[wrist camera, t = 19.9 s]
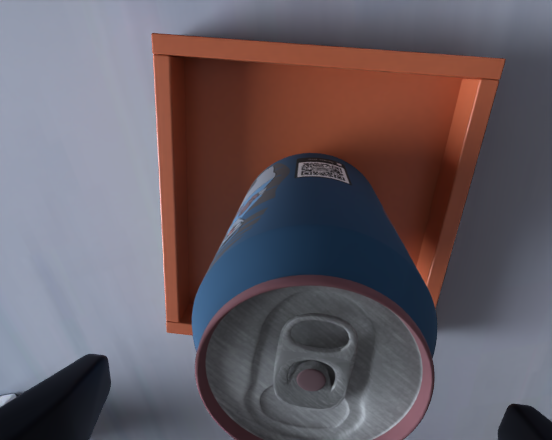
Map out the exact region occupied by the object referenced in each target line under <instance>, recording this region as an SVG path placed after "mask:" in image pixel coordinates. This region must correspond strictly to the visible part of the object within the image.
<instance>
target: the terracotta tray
mask: <svg viewBox="0 0 552 440" xmlns="http://www.w3.org/2000/svg"><path fill="white" fill-rule="evenodd" d="M152 52H153V54H154V55H153V66H154V86H155V106H156V126H157V146H158V166H159V186H160V206H161V226H162V245H163V265H164V285H165V305H166V320H167V321H166V329H167V332H168V333H176V334H185V335H193V333H192V311H193V305H194V301H195V297H196V294H197V292H198V289H199V287H200V285H201V283H202V281H203V279H204V277H205V275H206V273H207V271H208V269H209V267H210V265H211V263H212V261H213V259H214V257H215V255H216V253H217V251H218V249H219V247H220V245H221V243H222V241H223V239H224V238H225V236H226V234H227V232H228V230H229V228H230V226H231V224H232V222H233V220H234V218H235V216H236V214H237V212H238V210H239V208H240V206H241V204H242V202H243V200H244V198H245V196H246V194H247V192H248V190H249V188H250V187H251V185H252V183H253V182H254V181H255V179H256V178H257V177H258V176H259V175H260V174H261V173H262V172H263V171H264V170H265V169H266V168H267V167H269V166H270V165H272V164H273V163H275V162H277V161H279V160H281V159H283V158H286V157H288V156H292V155H296V154H302V153H321V154H327V155H331V156H334V157H337V158H339V159H342V160H344V161H346V162H347V163H349V164H351V165H352V166H354V167H355V168H356V169H357V170H359V171H360V172H361V173H362V174H363V175H364V176H365V178H366V179H367V180H368V181H369V183H370V184H371V186H372V188H373V190H374V191H375V193H376V195H377V197H378V199H379V201H380V202H381V204H382V206H383V208H384V210H385V211H386V213H387V215H388V217H389V219H390V220H391V222H392V224H393V226H394V228H395V230H396V231H397V233H398V235H399V237H400V239H401V240H402V242H403V244H404V246H405V248H406V250H407V251H408V253H409V255H410V257H411V259H412V260H413V262H414V264H415V266H416V268H417V269H418V271H419V273H420V275H421V277H422V279H423V280H424V282H425V284H426V286H427V288H428V290H429V292H430V294H431V297H432V299H433V303H434V306H435V309H436V306H437V302H438V299H439V295H440V291H441V288H442V284H443V281H444V277H445V274H446V270H447V266H448V263H449V259H450V256H451V252H452V249H453V245H454V241H455V238H456V234H457V231H458V227H459V224H460V220H461V216H462V213H463V209H464V206H465V202H466V199H467V195H468V191H469V188H470V184H471V181H472V177H473V174H474V170H475V166H476V163H477V159H478V156H479V152H480V148H481V145H482V141H483V138H484V134H485V131H486V127H487V123H488V120H489V116H490V113H491V109H492V106H493V102H494V98H495V95H496V91H497V88H498V84H499V79H500V78H501V75H502V71H503V68H504V64H505V60H506V59H504V58H490V57H476V56H463V55H449V54H435V53H421V52H407V51H393V50H379V49H366V48H352V47H338V46H324V45H310V44H296V43H282V42H269V41H255V40H241V39H227V38H213V37H199V36H185V35H172V34H158V33H152Z"/></svg>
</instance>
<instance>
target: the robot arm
mask: <svg viewBox="0 0 552 440" xmlns="http://www.w3.org/2000/svg"><path fill="white" fill-rule="evenodd" d="M110 387H111V378H110V371H109V363H108V358H107V357H106V356H104V355H97V354H87V355H85V356H83V357H82V358H80V359H78V360H77V361H75V362H74V363H72V364H70V365H69V366H67V367H65V368H64V369H62V370H60V371H59V372H57V373H55V374H54V375H52V376H51V377H49V378H47V379H46V380H44V381H42V382H41V383H39V384H37V385H36V386H34V387H32V388H31V389H29V390H28V391H26V392H24V393H23V394H21V395H19V396H18V397H16V398H14V399H13V400H11V401H9V402H8V403H6V404H5V405H3V406H1V407H0V440H89V438H90V436H91V433H92V431H93V429H94V426H95V424H96V422H97V419H98V417H99V415H100V413H101V410H102V408H103V406H104V403H105V401H106V399H107V396H108V394H109V391H110ZM498 440H552V422H551V421H550V420H549V419H547V418H546V417H545V416H544V415H542V414H541V413H540V412H539V411H537V410H536V409H535V408H533V407H531V406H528V405H520V404H511V405H509V406H508V408H507V410H506V412H505V414H504V417H503V419H502V422H501V424H500V426H499V429H498Z"/></svg>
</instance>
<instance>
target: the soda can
mask: <svg viewBox="0 0 552 440" xmlns="http://www.w3.org/2000/svg"><path fill="white" fill-rule="evenodd" d="M192 333H193V339H194V344H195V348H196V352H197V354H196V360H195V377H196V383H197V388H198V391H199V394H200V397H201V399H202V401H203V403H204V405H205V407H206V409H207V410H208V412H209V414H210V415H211V416H212V418H213V419H214V420H215V421H216V423H217V424H218V425H219V426H220V427H221V428H222V429H223V430H224V431H225V432H227V433H228V434H229V435H230V436H231V437H233V438H234V439H235V440H403V439H405V438H406V437H407V436H408V435H409V434H410V433H411V432H412V431H413V430H414V429H415V428H416V427H417V426H418V424H419V423H420V422H421V420H422V419H423V417H424V415H425V413H426V411H427V409H428V407H429V404H430V401H431V398H432V394H433V389H434V365H433V360H432V358H433V355H434V351H435V346H436V340H437V316H436V310H435V306H434V303H433V299H432V297H431V294H430V292H429V290H428V288H427V286H426V284H425V282H424V280H423V279H422V277H421V275H420V273H419V271H418V269H417V268H416V266H415V264H414V262H413V260H412V259H411V257H410V255H409V253H408V251H407V250H406V248H405V246H404V244H403V242H402V240H401V239H400V237H399V235H398V233H397V231H396V230H395V228H394V226H393V224H392V222H391V220H390V219H389V217H388V215H387V213H386V211H385V210H384V208H383V206H382V204H381V202H380V201H379V199H378V197H377V195H376V193H375V191H374V190H373V188H372V186H371V184H370V183H369V181H368V180H367V179H366V178H365V176H364V175H363V174H362V173H361V172H360V171H359V170H357V169H356V168H355V167H354V166H352V165H351V164H349V163H347V162H346V161H344V160H342V159H339V158H337V157H334V156H331V155H327V154H321V153H302V154H296V155H292V156H288V157H286V158H283V159H281V160H279V161H277V162H275V163H273V164H272V165H270V166H269V167H267V168H266V169H265V170H264V171H263V172H262V173H261V174H260V175H259V176H258V177H257V178H256V179H255V181H254V182H253V183H252V185H251V187H250V188H249V190H248V192H247V194H246V196H245V198H244V200H243V202H242V204H241V206H240V208H239V210H238V212H237V214H236V216H235V218H234V220H233V222H232V224H231V226H230V228H229V230H228V232H227V234H226V236H225V238H224V239H223V241H222V243H221V245H220V247H219V249H218V251H217V253H216V255H215V257H214V259H213V261H212V263H211V265H210V267H209V269H208V271H207V273H206V275H205V277H204V279H203V281H202V283H201V285H200V287H199V289H198V292H197V294H196V297H195V301H194V305H193V311H192Z"/></svg>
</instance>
